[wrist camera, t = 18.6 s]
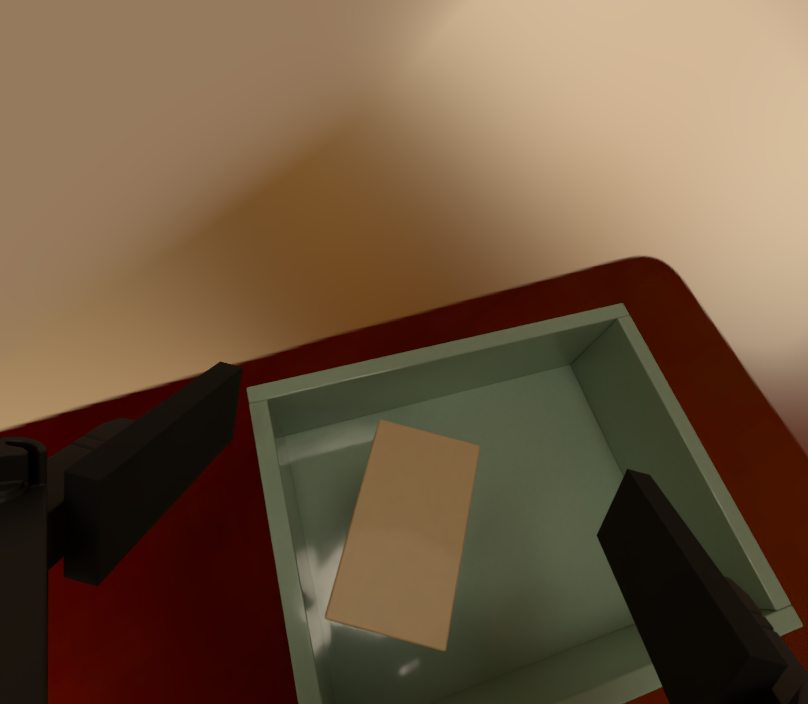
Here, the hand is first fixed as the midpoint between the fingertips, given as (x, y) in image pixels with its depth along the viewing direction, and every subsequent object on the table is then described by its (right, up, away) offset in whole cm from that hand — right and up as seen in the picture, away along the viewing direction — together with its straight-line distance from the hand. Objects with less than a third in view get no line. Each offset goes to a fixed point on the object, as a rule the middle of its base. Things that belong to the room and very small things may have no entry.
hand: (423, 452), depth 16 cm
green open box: (+3, -6, +10) cm, 12 cm away
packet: (-2, -7, +8) cm, 11 cm away
